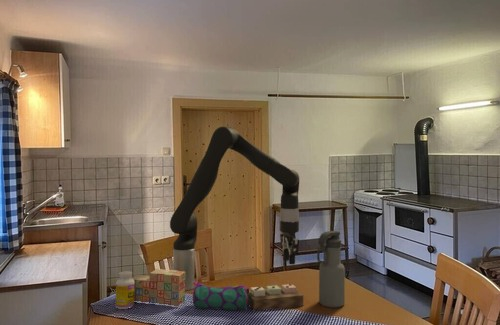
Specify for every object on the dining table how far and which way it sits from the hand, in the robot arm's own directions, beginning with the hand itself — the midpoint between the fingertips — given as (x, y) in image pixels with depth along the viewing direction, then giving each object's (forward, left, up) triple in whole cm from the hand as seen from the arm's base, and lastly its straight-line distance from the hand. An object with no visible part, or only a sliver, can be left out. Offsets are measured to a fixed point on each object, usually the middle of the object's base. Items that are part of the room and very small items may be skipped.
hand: (289, 262), depth 150 cm
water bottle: (+15, -7, -16) cm, 23 cm away
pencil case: (-28, 0, -16) cm, 32 cm away
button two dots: (0, 0, -12) cm, 12 cm away
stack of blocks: (-50, +13, -16) cm, 54 cm away
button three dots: (-13, 0, -12) cm, 18 cm away
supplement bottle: (-62, +11, -16) cm, 65 cm away
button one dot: (-7, 0, -12) cm, 14 cm away
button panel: (-7, 0, -15) cm, 17 cm away
